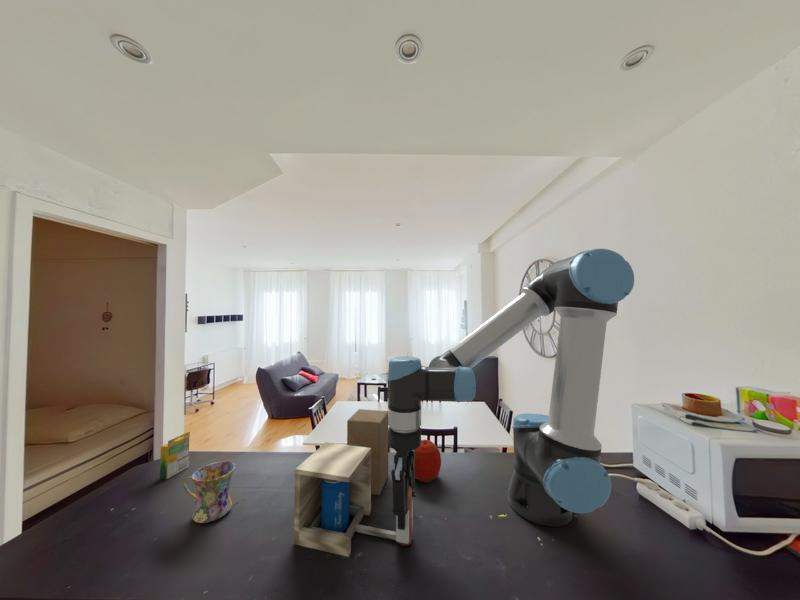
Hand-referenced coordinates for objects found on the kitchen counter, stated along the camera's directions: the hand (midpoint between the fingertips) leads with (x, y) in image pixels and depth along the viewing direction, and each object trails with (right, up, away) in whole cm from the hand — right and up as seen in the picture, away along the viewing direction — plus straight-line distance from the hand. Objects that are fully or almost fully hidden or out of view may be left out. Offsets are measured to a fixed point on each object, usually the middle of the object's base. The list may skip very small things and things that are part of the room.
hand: (404, 534), depth 62 cm
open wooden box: (-16, -2, +4) cm, 17 cm away
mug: (-50, -2, +9) cm, 51 cm away
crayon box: (-73, -3, +27) cm, 78 cm away
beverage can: (-16, -2, +4) cm, 17 cm away
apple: (+7, -3, +24) cm, 25 cm away
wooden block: (-11, -3, +21) cm, 24 cm away
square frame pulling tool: (-10, -1, +2) cm, 10 cm away
